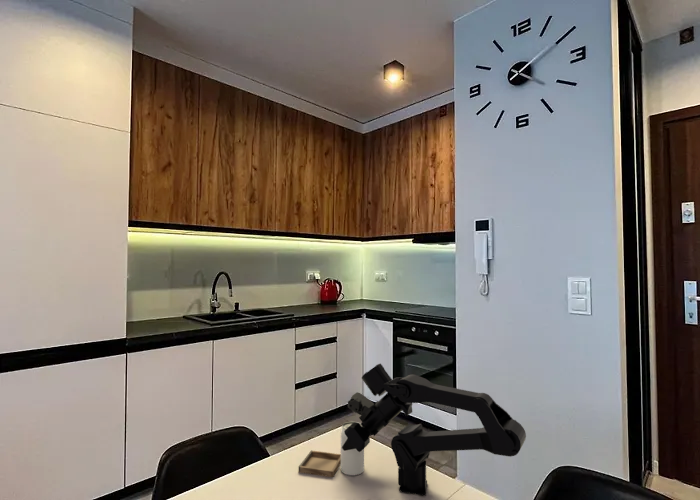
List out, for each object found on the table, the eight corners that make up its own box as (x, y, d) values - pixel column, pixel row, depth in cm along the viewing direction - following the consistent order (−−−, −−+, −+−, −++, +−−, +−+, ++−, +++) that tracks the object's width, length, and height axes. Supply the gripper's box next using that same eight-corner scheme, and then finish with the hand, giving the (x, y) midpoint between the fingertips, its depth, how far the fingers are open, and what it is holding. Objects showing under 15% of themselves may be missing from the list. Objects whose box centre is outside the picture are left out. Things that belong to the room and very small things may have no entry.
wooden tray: (342, 459, 110) (342, 454, 111) (332, 477, 101) (332, 471, 101) (311, 455, 113) (311, 450, 113) (298, 472, 103) (298, 466, 104)
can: (362, 477, 101) (361, 431, 101) (338, 475, 102) (338, 429, 103) (365, 465, 107) (365, 421, 108) (343, 463, 109) (343, 420, 109)
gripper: (377, 376, 113) (344, 409, 117) (351, 395, 96) (313, 432, 100) (403, 408, 109) (367, 440, 113) (381, 433, 92) (340, 469, 96)
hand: (348, 444), depth 106 cm, fingers closed on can, 6 cm apart
